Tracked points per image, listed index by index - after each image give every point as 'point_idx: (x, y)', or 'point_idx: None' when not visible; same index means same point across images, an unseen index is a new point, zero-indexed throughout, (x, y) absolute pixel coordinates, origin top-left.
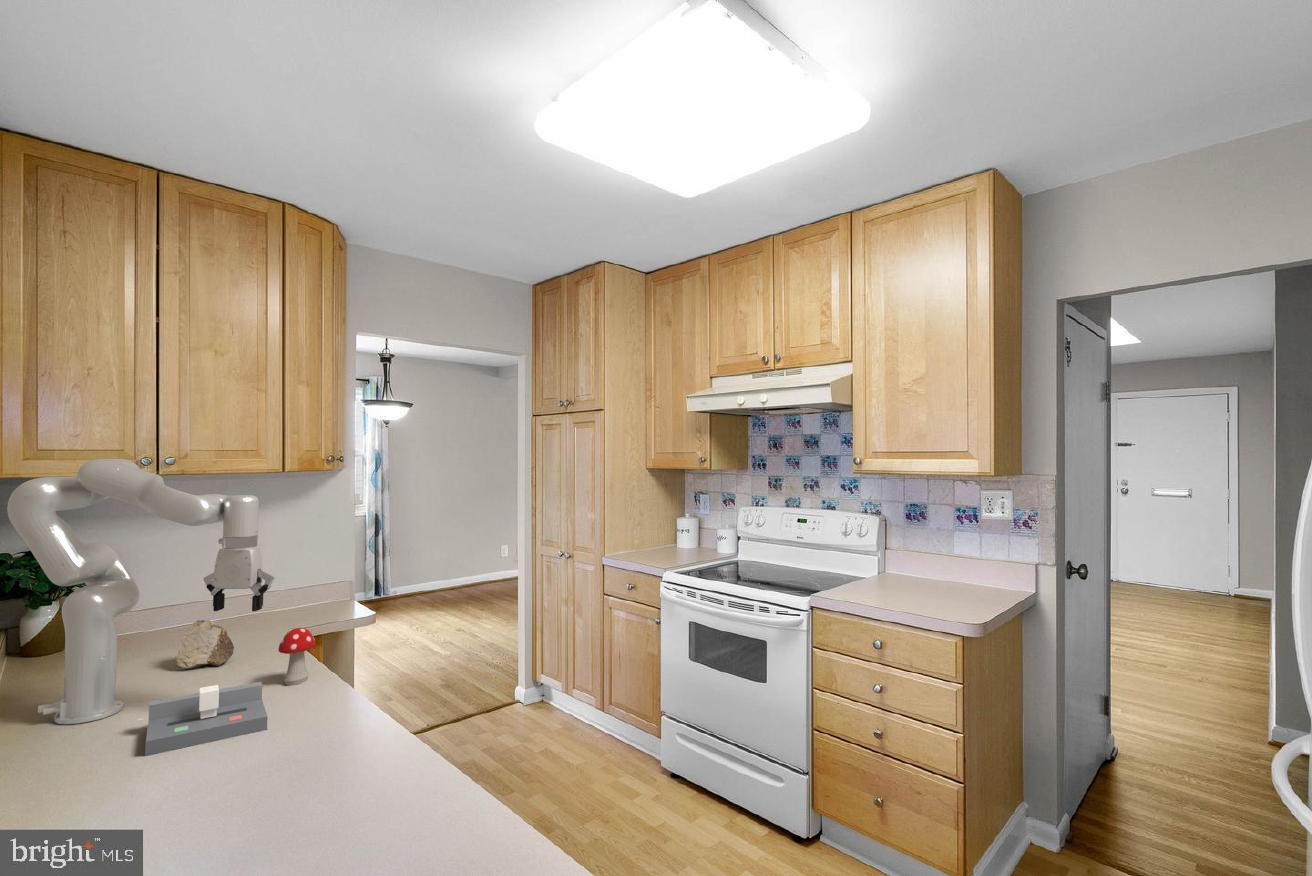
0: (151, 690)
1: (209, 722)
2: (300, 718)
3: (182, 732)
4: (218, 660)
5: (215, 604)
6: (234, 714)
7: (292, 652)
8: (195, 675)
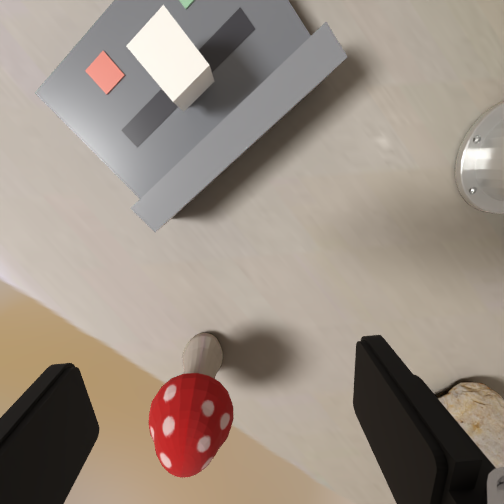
0: (461, 286)
1: None
2: (33, 168)
3: None
4: None
5: (391, 371)
6: (131, 101)
7: (174, 377)
8: (425, 361)
